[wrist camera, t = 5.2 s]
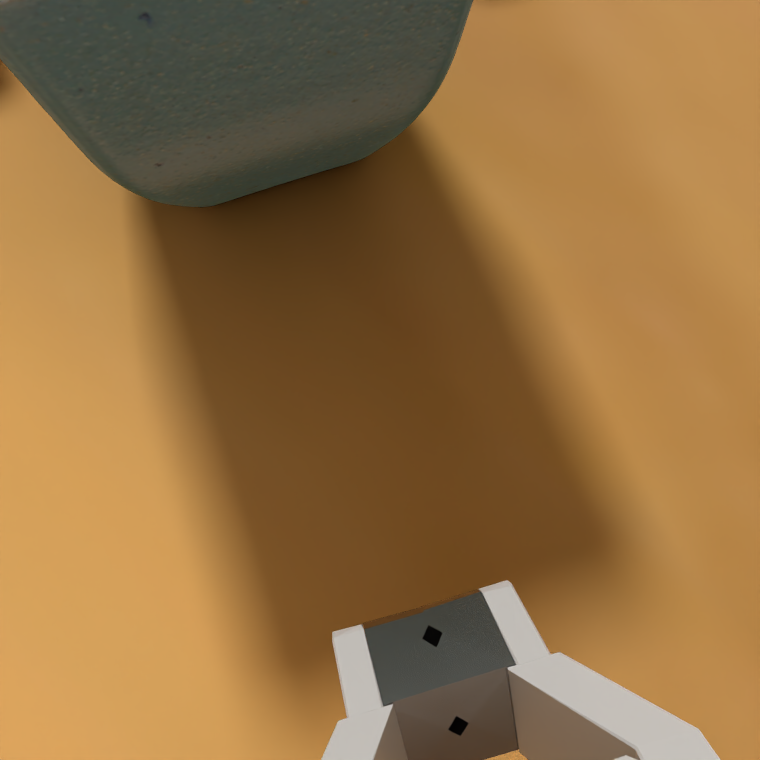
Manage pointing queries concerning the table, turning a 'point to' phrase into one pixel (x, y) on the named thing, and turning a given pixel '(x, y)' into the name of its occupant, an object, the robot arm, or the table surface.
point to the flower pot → (229, 84)
